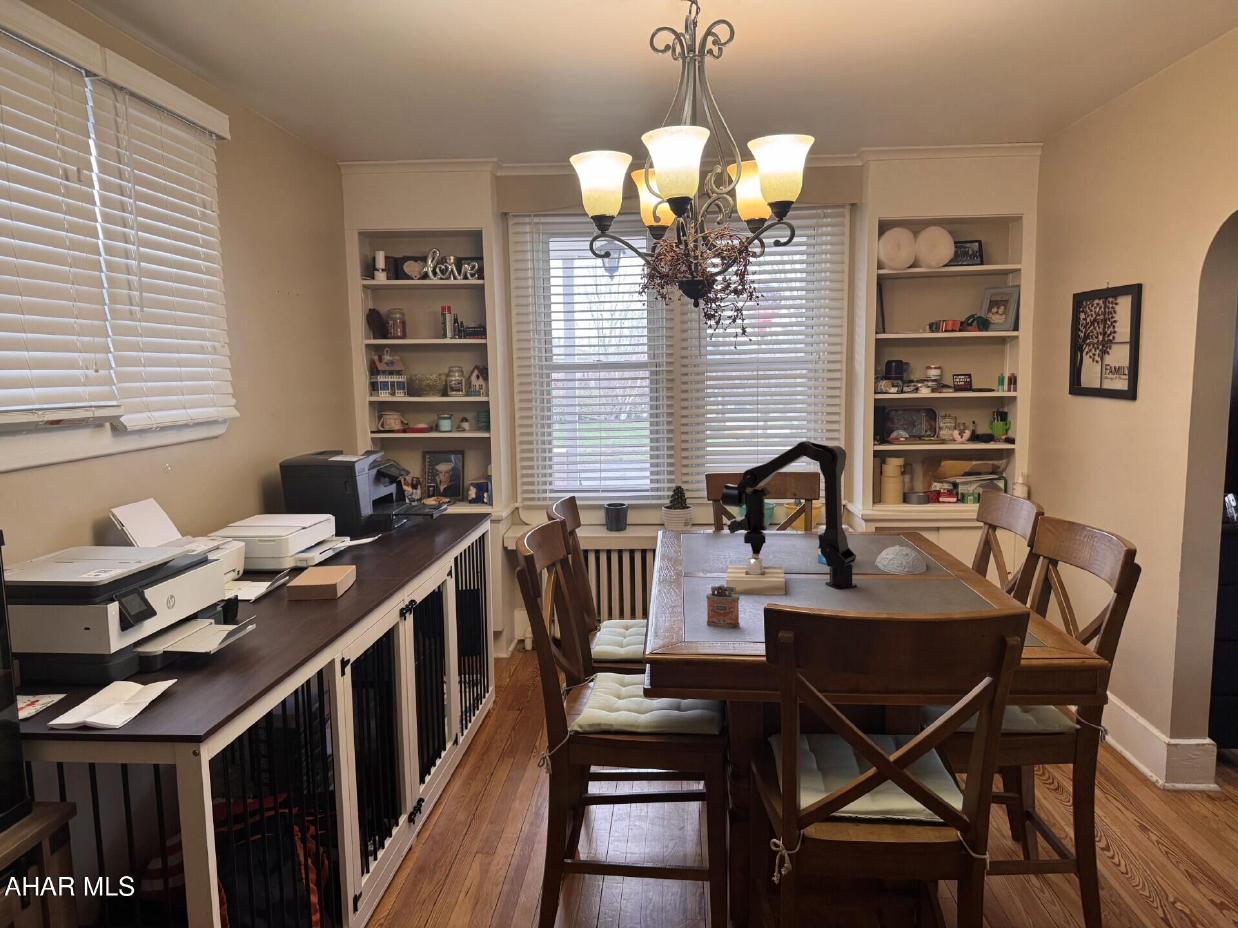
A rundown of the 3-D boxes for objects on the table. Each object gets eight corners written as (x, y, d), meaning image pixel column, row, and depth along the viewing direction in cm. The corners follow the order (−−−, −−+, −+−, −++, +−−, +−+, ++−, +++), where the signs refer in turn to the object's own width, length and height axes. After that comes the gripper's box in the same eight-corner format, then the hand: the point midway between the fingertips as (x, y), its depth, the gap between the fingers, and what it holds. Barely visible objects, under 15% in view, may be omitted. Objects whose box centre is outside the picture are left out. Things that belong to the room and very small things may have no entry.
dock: (784, 594, 217) (784, 580, 217) (726, 593, 220) (726, 579, 220) (782, 579, 233) (782, 566, 233) (728, 578, 236) (728, 565, 235)
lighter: (705, 626, 192) (704, 586, 191) (708, 622, 195) (708, 582, 194) (737, 629, 189) (737, 588, 188) (740, 624, 192) (740, 584, 191)
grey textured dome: (919, 555, 258) (917, 535, 257) (935, 578, 233) (933, 556, 232) (870, 559, 261) (868, 540, 260) (881, 583, 236) (879, 561, 235)
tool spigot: (765, 587, 225) (765, 559, 224) (753, 588, 224) (752, 561, 223) (758, 584, 229) (758, 557, 228) (746, 585, 228) (745, 558, 227)
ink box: (827, 565, 249) (827, 528, 248) (817, 562, 254) (817, 526, 252) (849, 562, 252) (849, 525, 251) (838, 559, 257) (838, 523, 256)
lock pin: (758, 569, 229) (758, 562, 228) (751, 569, 229) (751, 562, 229) (758, 560, 240) (758, 553, 240) (752, 560, 241) (752, 553, 240)
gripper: (729, 502, 249) (730, 550, 252) (726, 516, 231) (727, 567, 234) (765, 502, 247) (766, 550, 250) (765, 516, 229) (765, 567, 232)
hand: (755, 558), depth 241 cm, fingers closed
